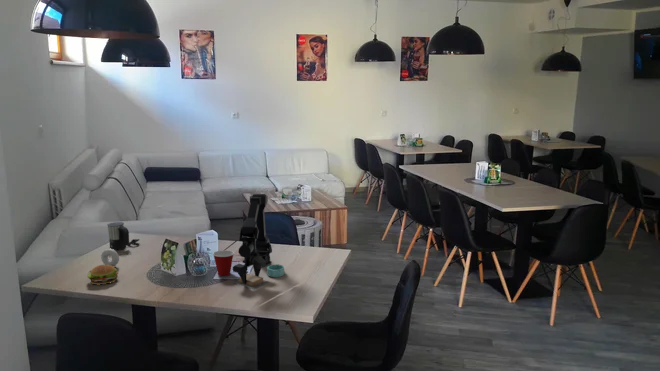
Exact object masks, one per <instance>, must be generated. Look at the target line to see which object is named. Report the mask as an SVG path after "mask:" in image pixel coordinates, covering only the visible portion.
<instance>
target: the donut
mask: <svg viewBox="0 0 660 371" xmlns="http://www.w3.org/2000/svg"><path fill="white" fill-rule="evenodd" d="M109 256H110V257H111V260H110V259H109ZM100 258H101V261H102V264H103V265H111V266H114V267H116V266H117V265H118V264H119V261H120V255H119V253H118V252H117V250H113V249H110V248H106V249H103V251H102V252H101V255H100Z"/></svg>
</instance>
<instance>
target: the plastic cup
mask: <svg viewBox="0 0 660 371" xmlns="http://www.w3.org/2000/svg"><path fill="white" fill-rule="evenodd" d="M212 255H213V258H214V262H215V266H216V271H217V275H218V276H220V277H227V276H230V274H231V271H232V270H231V269H232V263H233V257H234V255H235V252H234V251H233V250H217V251H213V253H212Z"/></svg>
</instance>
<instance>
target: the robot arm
mask: <svg viewBox="0 0 660 371" xmlns="http://www.w3.org/2000/svg"><path fill="white" fill-rule="evenodd" d="M268 202H269V198H268V195H267V194H266V193H253V194H252V195H250V196H249V208H248V212H247V217H246V220H245V221H243V223H242V226H241V227H240V233H239V237H238V238H239V239H238V241H239V242H241V243H242V244H241V245H240V246H239V248H238V254H239V256H240V257H242V258H244V259H243V260H242V263H238V264H237V263H236V264H235V265H233V267H232V272H233V273H236V274H238V276H239V277H241V279H242V281H243V283H244V284H246V274H249V271H248V268H249V267H253V271H254V275H255V276H259V277H260V273H261V270H262V268H265V266H267V265H268V264H271V263H272V261H271V256H270V254H271V253H273V246H272V244H271V242H270V238H269V237H268V235H267V231H266V217H265V208H266V206H267V204H268Z"/></svg>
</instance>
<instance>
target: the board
mask: <svg viewBox="0 0 660 371" xmlns="http://www.w3.org/2000/svg"><path fill="white" fill-rule="evenodd" d="M238 280H239V283H243V281H242V279H241V277H240V276H239V277H238ZM263 280H264V277H262V276H260V275H259V276H255V274H251V273H247V274H246V285H249V286H253V287H255V286H257V285H259V284H261V283H263ZM243 284H244V283H243Z"/></svg>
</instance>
